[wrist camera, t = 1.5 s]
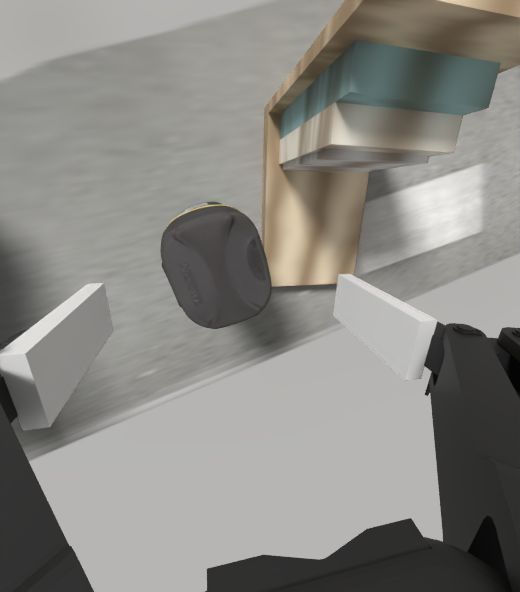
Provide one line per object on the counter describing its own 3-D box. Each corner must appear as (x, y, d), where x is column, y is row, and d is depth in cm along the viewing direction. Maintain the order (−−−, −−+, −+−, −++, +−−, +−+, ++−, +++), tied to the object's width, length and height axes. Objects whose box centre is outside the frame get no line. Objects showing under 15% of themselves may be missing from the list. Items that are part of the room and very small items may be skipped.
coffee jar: (248, 263, 38) (288, 317, 21) (195, 280, 37) (192, 352, 20) (227, 193, 34) (255, 192, 17) (167, 211, 33) (135, 229, 16)
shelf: (260, 282, 39) (324, 374, 19) (264, 107, 32) (378, -44, 12) (345, 278, 42) (478, 355, 22) (368, 117, 35) (605, 10, 14)
